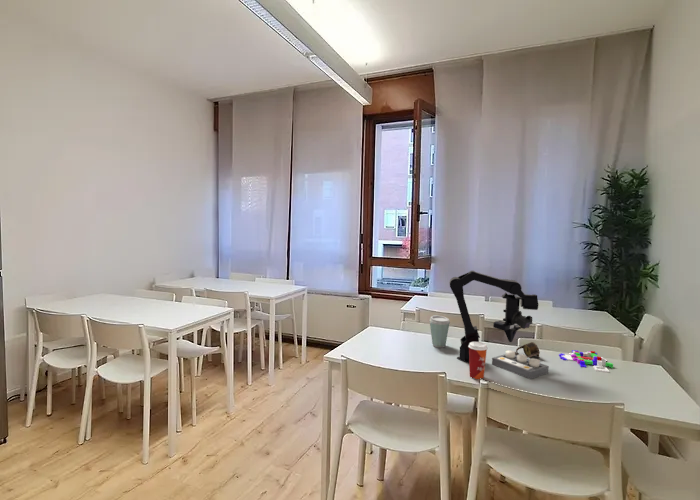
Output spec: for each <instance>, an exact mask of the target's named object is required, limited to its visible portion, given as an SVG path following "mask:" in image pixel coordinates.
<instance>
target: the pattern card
mask: <svg viewBox="0 0 700 500" xmlns="http://www.w3.org/2000/svg"><path fill="white" fill-rule="evenodd" d="M497 359H498V360H501V361H504V362H507V363H509V364H512V365H515V366H517V367H520V368H523V369H526V370H529V369H532V367H529V366H526V365H523V364H521V363H518V362H515V361H512V360H509V359H507V358H504V357H500V358H497Z"/></svg>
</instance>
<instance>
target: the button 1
mask: <svg viewBox="0 0 700 500" xmlns="http://www.w3.org/2000/svg"><path fill="white" fill-rule="evenodd" d="M515 352H516V351H514V350H510V349H509V350H508V349H507V350H505V354H504V355H505V358H508V359H511V360H512V359H515Z"/></svg>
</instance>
